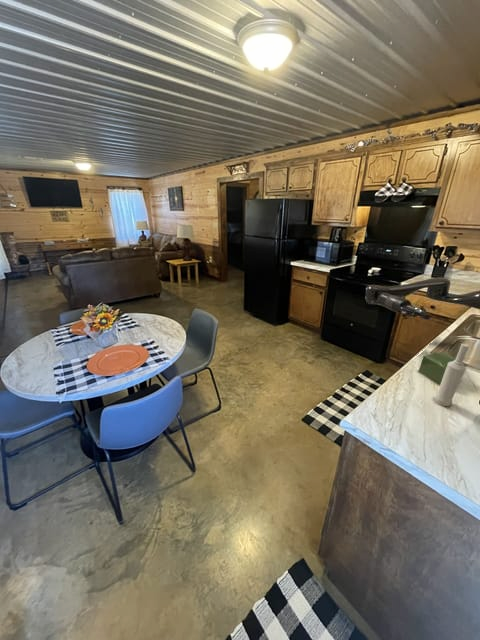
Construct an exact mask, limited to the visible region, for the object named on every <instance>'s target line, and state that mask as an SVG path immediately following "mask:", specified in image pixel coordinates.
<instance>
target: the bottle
mask: <svg viewBox="0 0 480 640" xmlns="http://www.w3.org/2000/svg"><path fill="white" fill-rule="evenodd" d="M469 348H470V345H469V344H467V343H461V345H460V347H459V350H458V352H457V355H456V357H455V359H456V360H454V361H452V362H449V363H448V365H447V367H446V370H445V373H444V376H443V379H442V382H441V384H440V385H439V387H438V390H437V392H436V394H435V396H434V402H435V403H436V404H438V405H440V406H442V407H450V406H451V405H452V403H453V398H454V396H455V394H456V392H457V389H458V387H459V386H460V383H461V380H462V378H463V376H464V375H465V372H466V370H467V366H466V367H465V366H464V365H463V363H464V360H465V357H466V354H467V351H469V350H468V349H469Z"/></svg>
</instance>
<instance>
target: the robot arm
mask: <svg viewBox="0 0 480 640" xmlns="http://www.w3.org/2000/svg"><path fill="white" fill-rule="evenodd" d="M450 288H451V279H449V278H447V277H431V278H428V279H423V280H419V281H415V282H410V283H405V284H399V285H398V284H397V285H389V286H388V285H387V286H386V285H379V284H369V285H368V286H366V287H365V301H366V303H367V304H368V305H378V306H382V307H384V308H386V309H388V310H389V311H392V312H394V313H396V314H399V315H402V316H407V317H413V318H416V317H417V318H422V319H425V320H431V319H432V314H431V313H429V312H427V309H426V308H425V307H424V306H423V305H421V306H420V307H418V306H416V305H415V304H412V302H411V301H410V300H409V299H406V297H408V296H410V295H412V294H413V293H416V292H417V291H420V290H422V289H423V290H424V289H426V297H427V298H428V299H430V300H433V301H437V302H442V303H443V302H444V303H448V304H456V305H460V306H463V307H464V306H465V307H468V308H473V309H476V310H480V290H475V291H471V292H467V293H460V294H457V293H450Z"/></svg>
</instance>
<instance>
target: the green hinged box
mask: <svg viewBox="0 0 480 640" xmlns="http://www.w3.org/2000/svg"><path fill="white" fill-rule="evenodd" d="M418 373H420V374H422V375H423V376H425V377H426V378H428V379H429V380H431V381H432V382H434V383H435V384H437V385H439V386H440V384H441V382H442V379H443V376H444V373H445V369H443V368H441V367H440V366H438V365H436V364H434V363H433V362H431V361H429V360H427V359H425V358H424V357H423V356H422V359H421V362H420V365H419V367H418Z"/></svg>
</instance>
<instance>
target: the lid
mask: <svg viewBox="0 0 480 640" xmlns="http://www.w3.org/2000/svg"><path fill="white" fill-rule="evenodd" d="M423 357H424V358H425V359H427V360H429V361H431V362H433V363H434V364H436V365H438V366H440V367H441V368H443V369H445V370H446V367H447V365H448V363H449V362H452V361H454V360H456V357H453V356H451V355H449V354H448V353H445V352H444V351H440V352H435V353H431V354H426V355H423V356H422V358H423ZM463 365H464V366H465V367H466V368H467V367H468V366H469V364H467V363H465V362H463Z"/></svg>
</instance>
